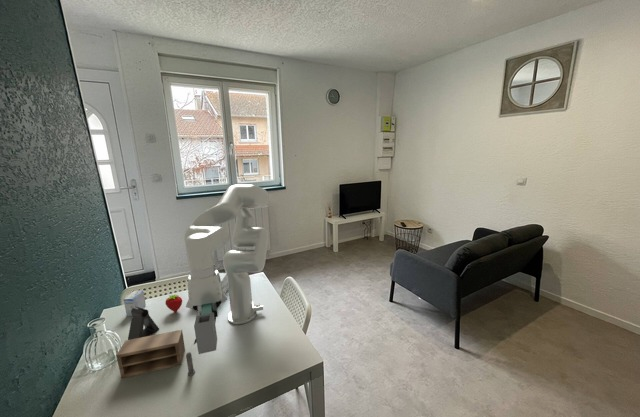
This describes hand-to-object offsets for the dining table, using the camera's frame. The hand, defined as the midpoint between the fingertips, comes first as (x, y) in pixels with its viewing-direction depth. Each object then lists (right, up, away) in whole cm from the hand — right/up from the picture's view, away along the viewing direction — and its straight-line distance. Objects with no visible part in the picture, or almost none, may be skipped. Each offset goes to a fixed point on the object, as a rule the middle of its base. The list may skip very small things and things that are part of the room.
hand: (209, 319), depth 89 cm
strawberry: (-30, -11, +33) cm, 46 cm away
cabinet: (-17, -17, +1) cm, 25 cm away
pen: (-12, -13, +22) cm, 28 cm away
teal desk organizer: (0, -4, +1) cm, 4 cm away
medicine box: (-49, -11, +34) cm, 61 cm away
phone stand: (-35, -14, +18) cm, 42 cm away
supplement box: (-18, -8, +45) cm, 49 cm away
